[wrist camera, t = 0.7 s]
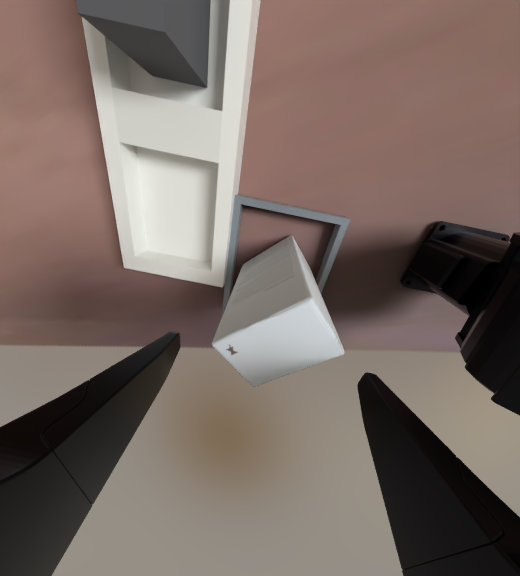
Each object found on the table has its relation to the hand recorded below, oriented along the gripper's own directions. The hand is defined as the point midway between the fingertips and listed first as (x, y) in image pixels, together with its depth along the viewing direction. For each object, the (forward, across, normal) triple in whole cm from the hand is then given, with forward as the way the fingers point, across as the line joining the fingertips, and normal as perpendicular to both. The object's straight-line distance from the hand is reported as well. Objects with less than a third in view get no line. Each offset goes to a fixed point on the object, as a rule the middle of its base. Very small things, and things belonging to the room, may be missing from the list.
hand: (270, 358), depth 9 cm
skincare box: (+13, 0, 0) cm, 13 cm away
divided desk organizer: (+13, +10, -9) cm, 19 cm away
